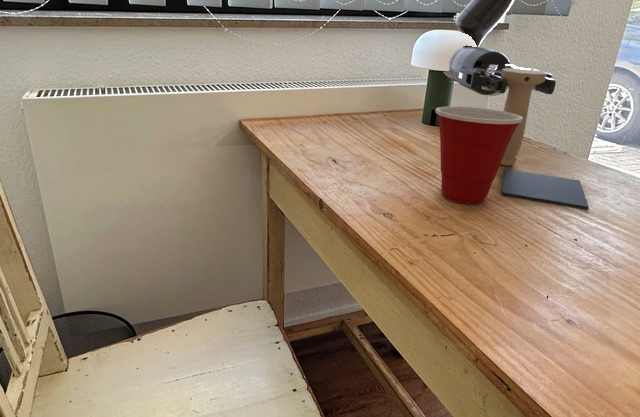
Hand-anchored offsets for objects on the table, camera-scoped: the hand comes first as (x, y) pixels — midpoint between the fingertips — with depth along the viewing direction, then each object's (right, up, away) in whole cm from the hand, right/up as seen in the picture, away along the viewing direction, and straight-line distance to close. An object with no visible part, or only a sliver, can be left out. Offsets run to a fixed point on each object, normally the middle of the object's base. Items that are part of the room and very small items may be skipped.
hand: (528, 87), depth 74 cm
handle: (-1, -11, +7) cm, 13 cm away
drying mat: (+1, -16, -3) cm, 16 cm away
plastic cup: (-12, -17, -7) cm, 22 cm away
